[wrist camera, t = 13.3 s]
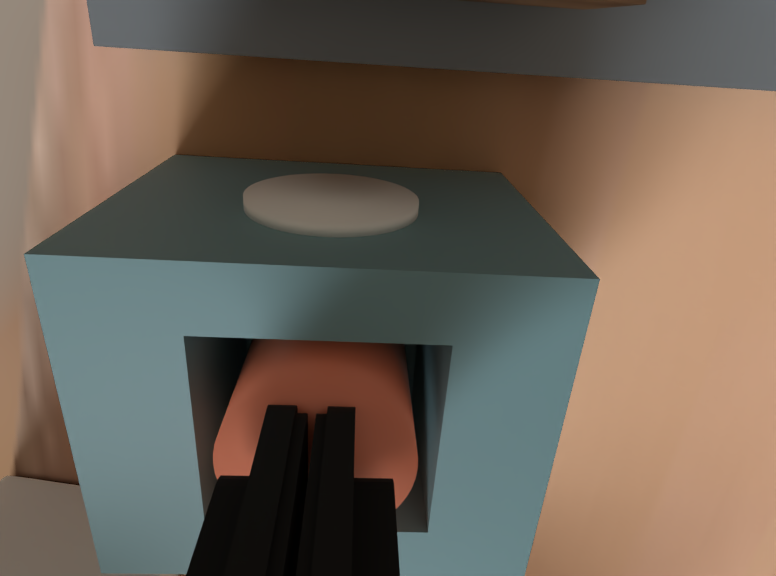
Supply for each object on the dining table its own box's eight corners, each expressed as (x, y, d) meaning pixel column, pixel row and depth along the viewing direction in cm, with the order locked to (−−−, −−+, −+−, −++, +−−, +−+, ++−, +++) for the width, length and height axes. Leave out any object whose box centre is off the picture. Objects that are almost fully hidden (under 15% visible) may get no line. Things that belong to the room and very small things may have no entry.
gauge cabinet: (502, 162, 17) (603, 263, 10) (468, 383, 20) (523, 577, 13) (173, 144, 16) (19, 237, 9) (197, 375, 20) (100, 573, 13)
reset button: (407, 273, 14) (427, 384, 10) (397, 396, 16) (409, 538, 12) (256, 266, 14) (204, 377, 10) (261, 392, 16) (220, 535, 11)
